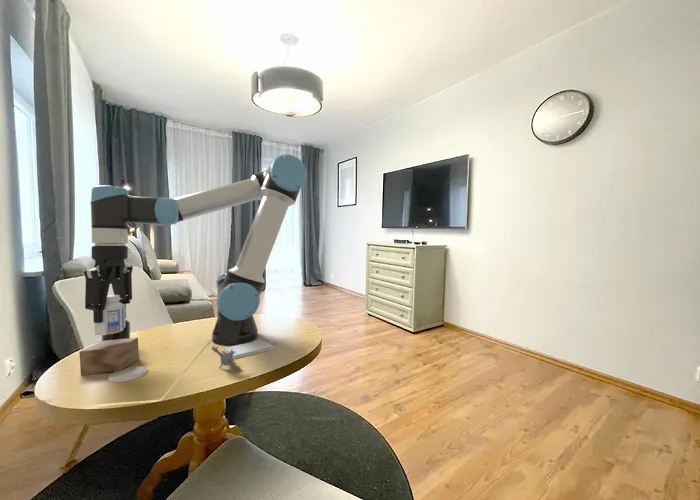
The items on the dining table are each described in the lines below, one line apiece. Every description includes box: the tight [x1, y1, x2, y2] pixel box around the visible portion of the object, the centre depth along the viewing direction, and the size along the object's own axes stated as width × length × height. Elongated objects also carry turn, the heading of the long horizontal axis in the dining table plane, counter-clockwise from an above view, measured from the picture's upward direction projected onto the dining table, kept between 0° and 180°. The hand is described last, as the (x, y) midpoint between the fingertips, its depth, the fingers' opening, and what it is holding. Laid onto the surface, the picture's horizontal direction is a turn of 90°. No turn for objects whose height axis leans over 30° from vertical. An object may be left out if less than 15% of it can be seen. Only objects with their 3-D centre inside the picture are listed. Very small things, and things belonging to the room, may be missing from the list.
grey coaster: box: [107, 365, 148, 383], centre depth 75 cm, size 8×8×1 cm
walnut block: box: [78, 337, 140, 376], centre depth 80 cm, size 9×9×6 cm
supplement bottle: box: [101, 313, 131, 341], centre depth 91 cm, size 7×7×12 cm
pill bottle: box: [105, 294, 124, 334], centre depth 79 cm, size 6×5×10 cm
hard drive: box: [223, 339, 274, 360], centre depth 94 cm, size 2×8×12 cm
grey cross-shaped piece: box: [211, 346, 243, 372], centre depth 80 cm, size 10×6×9 cm
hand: (110, 330), depth 79 cm, fingers closed on pill bottle, 5 cm apart
